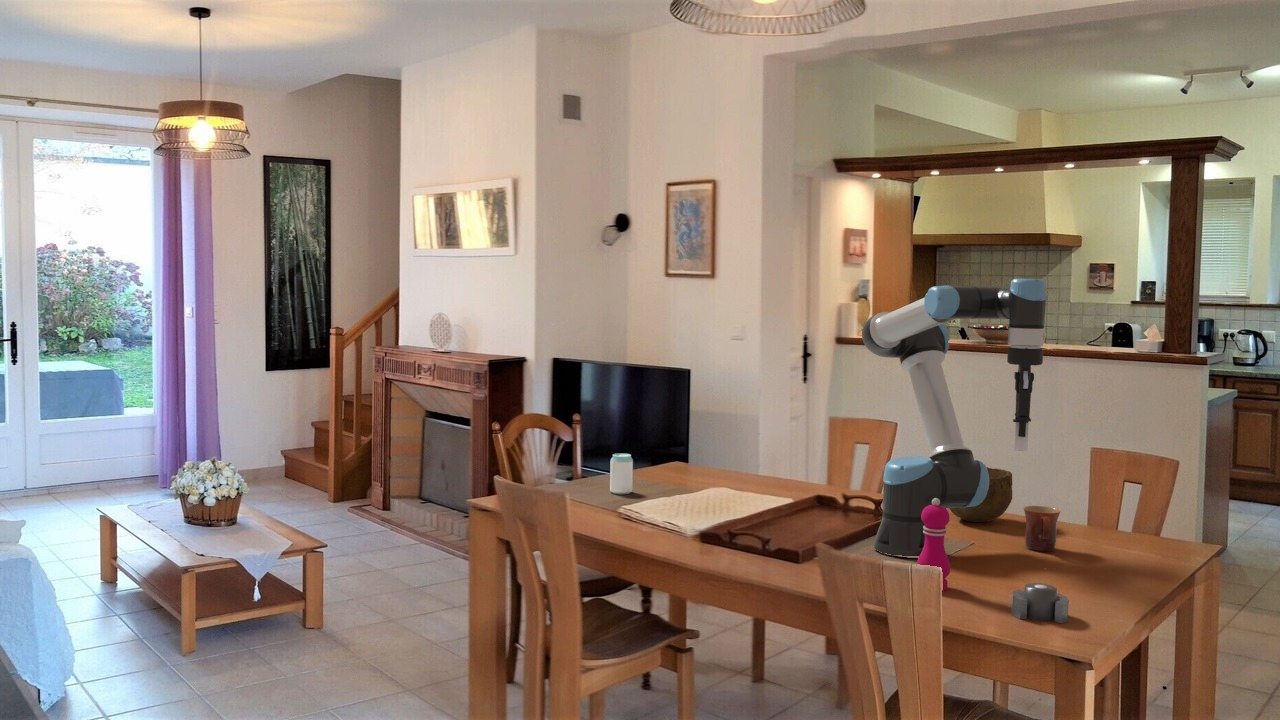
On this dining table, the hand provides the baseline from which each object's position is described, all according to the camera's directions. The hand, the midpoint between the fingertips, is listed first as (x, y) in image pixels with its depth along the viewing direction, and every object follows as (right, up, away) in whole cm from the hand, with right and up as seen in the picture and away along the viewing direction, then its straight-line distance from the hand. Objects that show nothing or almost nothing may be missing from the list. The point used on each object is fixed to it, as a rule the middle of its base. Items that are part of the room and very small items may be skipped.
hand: (1020, 450), depth 234 cm
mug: (+15, -28, +27) cm, 42 cm away
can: (-92, -21, +89) cm, 130 cm away
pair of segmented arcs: (-6, -31, -25) cm, 41 cm away
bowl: (+9, -26, +58) cm, 64 cm away
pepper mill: (-22, -30, -7) cm, 38 cm away
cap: (-6, -31, -26) cm, 41 cm away
